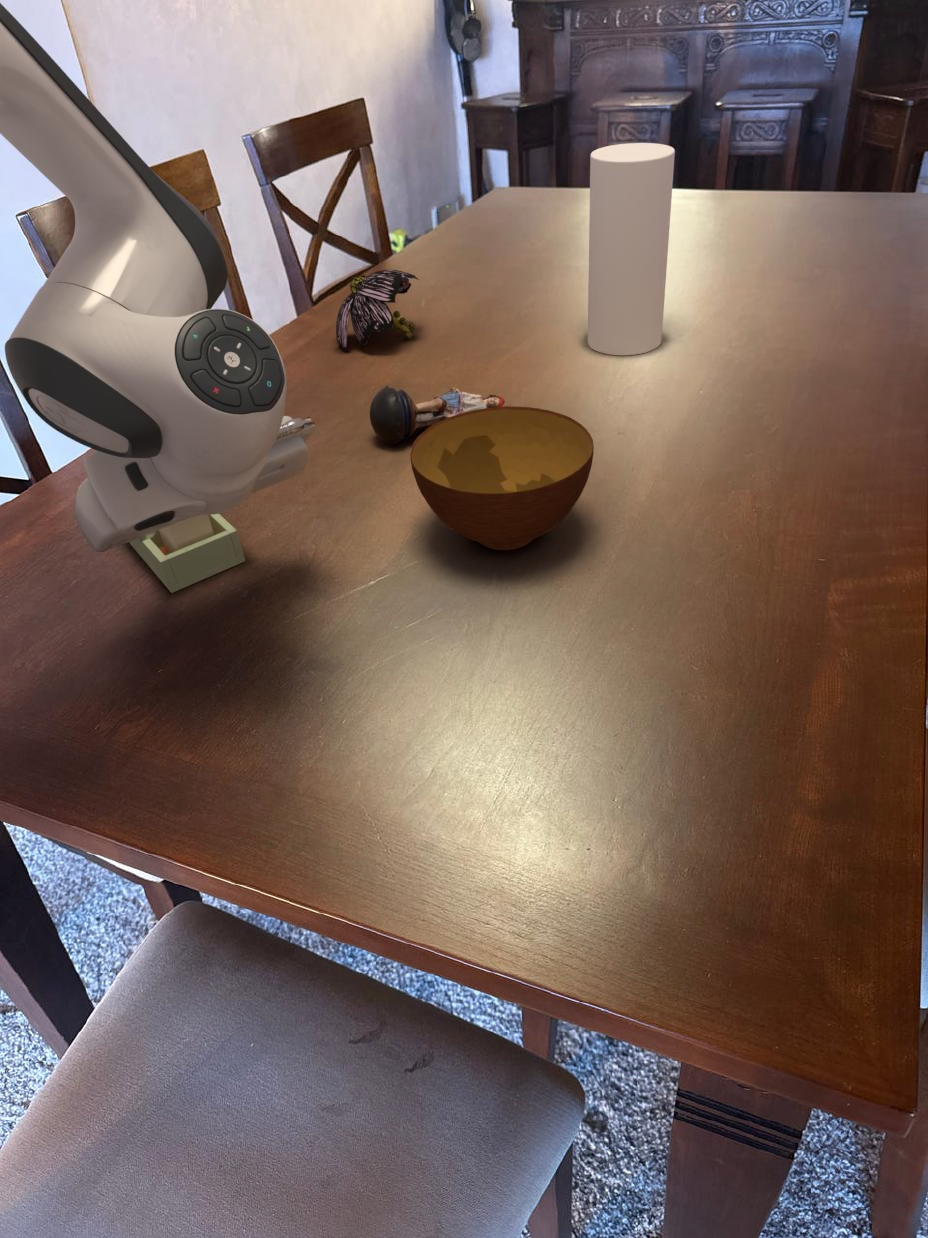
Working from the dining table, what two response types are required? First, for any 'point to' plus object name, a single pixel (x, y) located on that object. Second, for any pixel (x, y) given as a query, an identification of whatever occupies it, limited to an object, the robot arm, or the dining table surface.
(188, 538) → the beige rectangular block
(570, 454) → the bowl
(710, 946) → the dining table surface
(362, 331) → the decorative flower
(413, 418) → the figurine
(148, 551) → the holder
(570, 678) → the dining table surface
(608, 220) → the tall pillar cylinder
